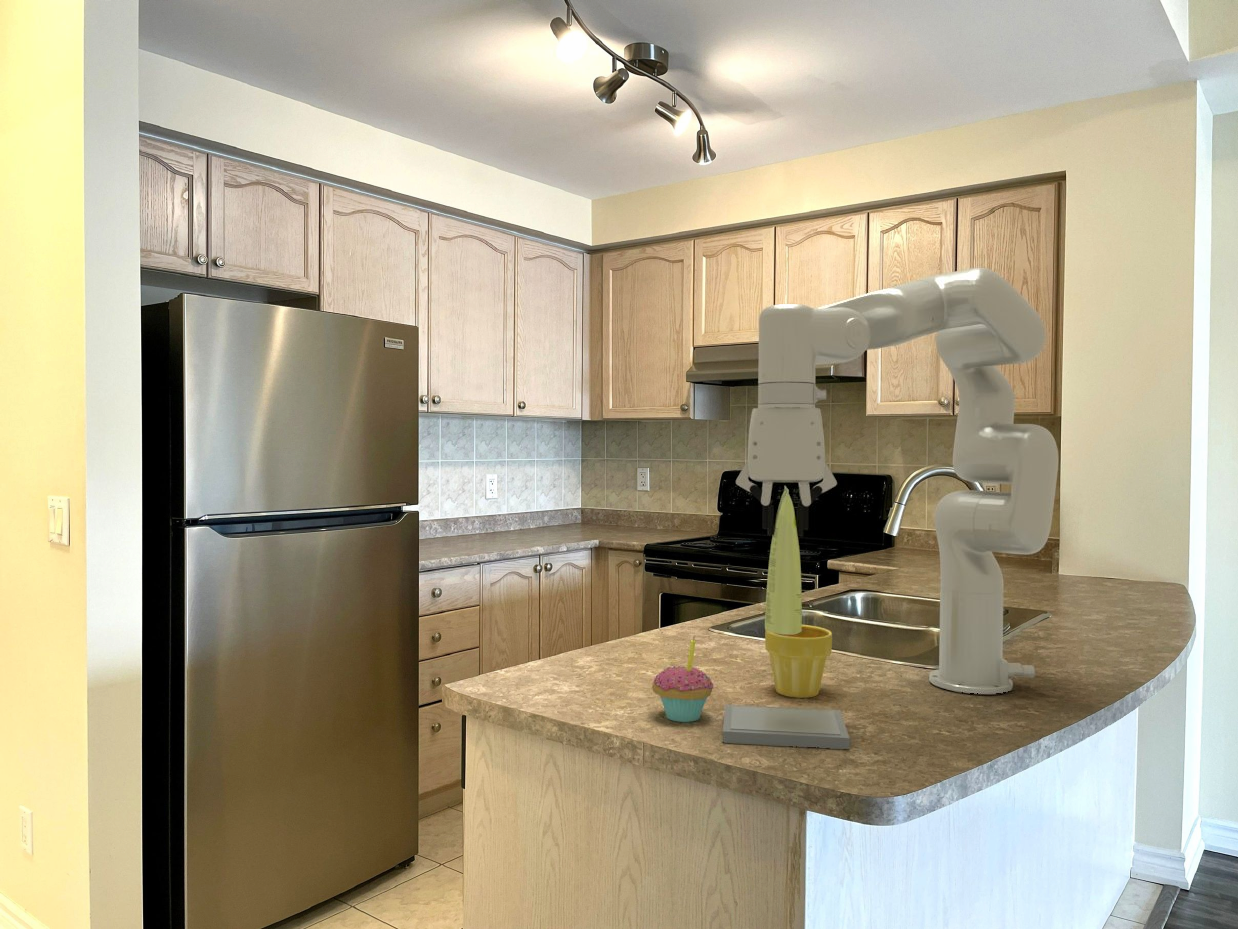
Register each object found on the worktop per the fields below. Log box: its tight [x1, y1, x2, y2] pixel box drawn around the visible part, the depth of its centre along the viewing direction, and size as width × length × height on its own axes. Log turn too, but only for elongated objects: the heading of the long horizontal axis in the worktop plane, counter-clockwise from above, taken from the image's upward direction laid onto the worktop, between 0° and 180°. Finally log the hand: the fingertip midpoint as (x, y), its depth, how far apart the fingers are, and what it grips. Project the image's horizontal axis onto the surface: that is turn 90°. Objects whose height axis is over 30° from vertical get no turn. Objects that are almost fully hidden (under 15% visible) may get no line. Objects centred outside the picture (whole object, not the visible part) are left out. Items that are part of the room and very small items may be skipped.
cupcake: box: [651, 635, 715, 723], centre depth 124 cm, size 9×8×12 cm
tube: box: [764, 485, 803, 635], centre depth 117 cm, size 6×5×20 cm
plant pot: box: [764, 624, 833, 699], centre depth 137 cm, size 10×10×10 cm
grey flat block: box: [722, 704, 851, 750], centre depth 118 cm, size 16×12×2 cm
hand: (785, 533), depth 117 cm, fingers closed on tube, 3 cm apart
